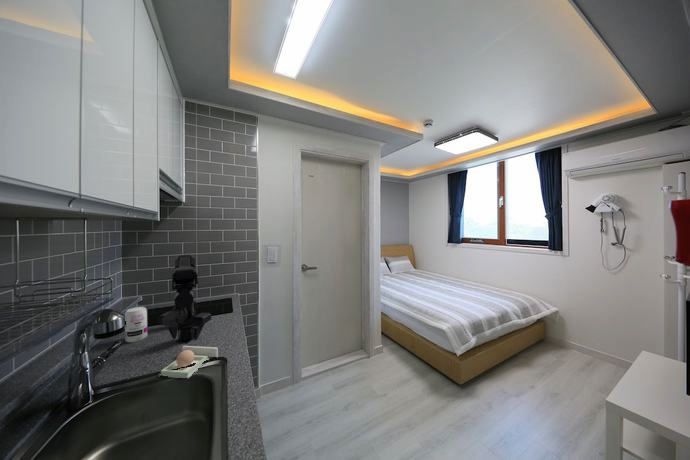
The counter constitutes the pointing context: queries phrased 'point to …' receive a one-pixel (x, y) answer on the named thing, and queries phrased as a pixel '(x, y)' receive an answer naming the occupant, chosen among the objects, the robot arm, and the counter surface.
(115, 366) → the counter surface
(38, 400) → the counter surface
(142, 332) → the supplement can
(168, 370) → the sage mat
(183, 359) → the ball
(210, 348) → the low wall
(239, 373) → the counter surface
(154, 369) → the counter surface
